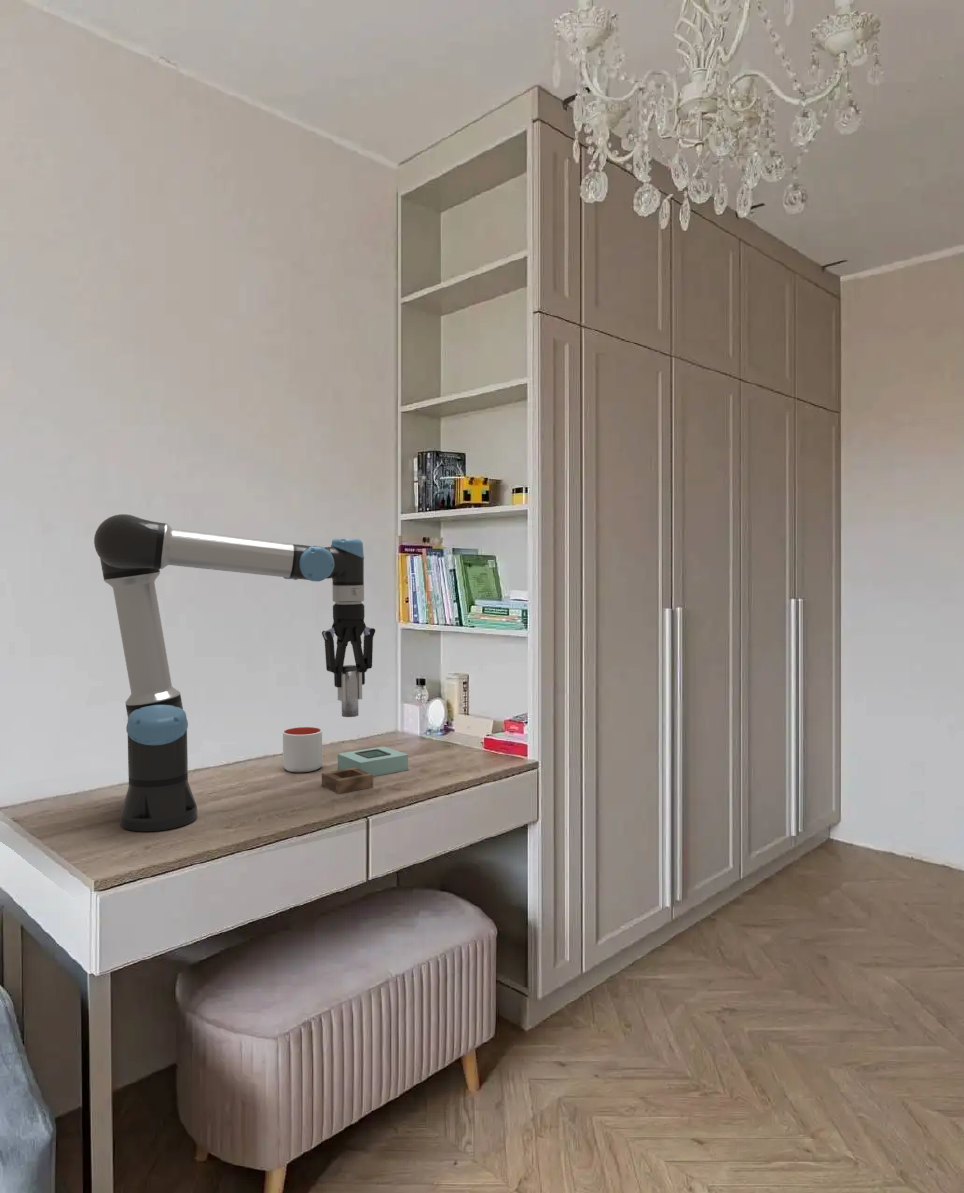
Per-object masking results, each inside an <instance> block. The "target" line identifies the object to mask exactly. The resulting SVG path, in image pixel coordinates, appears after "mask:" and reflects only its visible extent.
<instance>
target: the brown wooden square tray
mask: <svg viewBox="0 0 964 1193" xmlns="http://www.w3.org/2000/svg"><path fill="white" fill-rule="evenodd" d="M321 786H323V787H324V788H327V789H329V790H331V791H332V792H335V793H338V794H344V793H351V792H354V791H355V792H356V791H360V790H365V789H370V788H374V776H373V775H372V774H370V773H367V772H365V771H362V770H360V769H357V768H355V767H353V768H348V769H342V770H339V769H337V770H332V771H325V772H321Z"/></svg>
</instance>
